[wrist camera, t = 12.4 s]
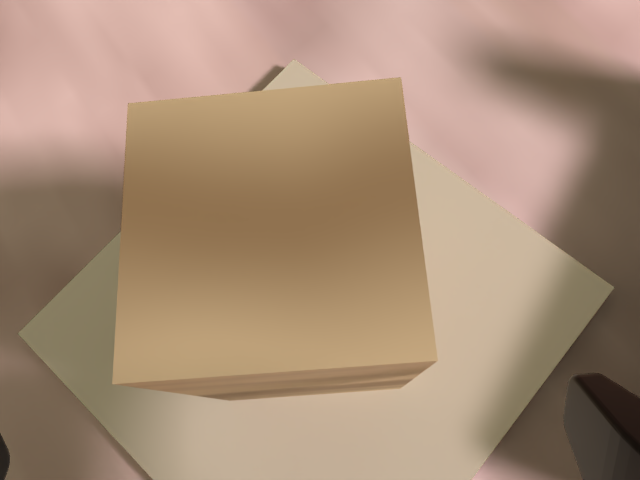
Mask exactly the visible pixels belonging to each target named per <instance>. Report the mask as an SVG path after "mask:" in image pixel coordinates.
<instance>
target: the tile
mask: <svg viewBox="0 0 640 480" xmlns="http://www.w3.org/2000/svg"><path fill="white" fill-rule="evenodd" d="M326 84H328V83H327V82H325V81H324V80H323V79H321V78H320V77H318V76H317V75H316V74H314V73H313V72H311V71H310V70H309V69H307V68H306V67H304V66H303V65H302V64H300V63H299V62H297V61H296V60H295V59H293V60H292V61H291V62H290V63H289V64H288V65H287V66H286V67H285V68H284V69H283V70H282V71H281V72H280V73H279V74H278V75H277V76H276V77H275V78H274V79H273V80H272V81H271V82H270V83H269V84H268V85H267V86H266V87H265V88H264V89H263V90H262V91H264V90H274V89H285V88H295V87H305V86H316V85H326ZM409 143H410V151H411V158H412V166H413V174H414V181H415V189H416V197H417V204H418V212H419V220H420V227H421V235H422V243H423V250H424V258H425V266H426V273H427V281H428V289H429V296H430V304H431V312H432V319H433V327H434V335H435V342H436V350H437V358H438V361H437V362H436V363H434V364H433V365H432V366H430V367H429V368H428V369H426V370H425V371H424V372H422V373H421V374H419V375H418V376H417V377H415V378H414V379H413V380H411V381H410V382H409V383H407V384H406V385H405V386H403V387H402V388H401V389H391V390H376V391H362V392H348V393H333V394H319V395H305V396H290V397H276V398H262V399H247V400H233V401H228V400H221V399H214V398H207V397H200V396H193V395H186V394H179V393H171V392H164V391H157V390H150V389H143V388H136V387H129V386H122V385H115V384H112V380H113V362H114V344H115V326H116V308H117V290H118V272H119V255H120V237H121V231H120V232H119V233H118V234H117V235H116V236H115V237H114V238H113V239H112V240H111V241H110V242H109V243H108V244H107V245H106V246H105V247H104V248H103V249H102V250H101V251H100V252H99V253H98V254H97V255H96V256H95V257H94V258H93V259H92V260H91V261H90V262H89V263H88V264H87V265H86V266H85V267H84V268H83V269H82V270H81V271H80V272H79V273H78V274H77V275H76V276H75V277H74V278H73V279H72V280H71V281H70V282H69V283H68V284H67V285H66V286H65V287H64V288H63V289H62V290H61V291H60V292H59V293H58V294H57V295H56V296H55V297H54V298H53V299H52V300H51V301H50V302H49V303H48V304H47V305H46V306H45V307H44V308H43V309H42V310H41V311H40V312H39V313H38V314H37V315H36V316H35V317H34V318H33V319H32V320H31V321H30V322H29V323H28V324H27V325H26V326H25V327H24V328H23V329H22V330H21V331H20V332H19V333H18V335H19V336H20V337H21V338H22V339H23V340H24V341H25V342H26V343H27V344H28V345H29V346H30V348H31V349H32V350H33V351H34V352H35V353H36V354H37V355H38V356H39V357H40V358H41V359H42V360H43V362H44V363H45V364H46V365H47V366H48V367H49V368H50V369H51V370H52V371H53V372H54V373H55V375H56V376H57V377H58V378H59V379H60V380H61V381H62V382H63V383H64V384H65V385H66V386H67V387H68V389H69V390H70V391H71V392H72V393H73V394H74V395H75V396H76V397H77V398H78V399H79V400H80V402H81V403H82V404H83V405H84V406H85V407H86V408H87V409H88V410H89V411H90V412H91V413H92V414H93V416H94V417H95V418H96V419H97V420H98V421H99V422H100V423H101V424H102V425H103V426H104V427H105V428H106V430H107V431H108V432H109V433H110V434H111V435H112V436H113V437H114V438H115V439H116V440H117V441H118V443H119V444H120V445H121V446H122V447H123V448H124V449H125V450H126V451H127V452H128V453H129V454H130V455H131V457H132V458H133V459H134V460H135V461H136V462H137V463H138V464H139V465H140V466H141V467H142V468H143V470H144V471H145V472H146V473H147V474H148V475H149V476H150V477H151V478H152V479H153V480H472V478H473V477H474V476H475V474H476V473H477V472H478V470H479V469H480V468H481V466H482V465H483V464H484V462H485V461H486V460H487V458H488V457H489V455H490V454H491V453H492V451H493V450H494V449H495V447H496V446H497V445H498V443H499V442H500V441H501V439H502V438H503V437H504V435H505V434H506V433H507V431H508V430H509V429H510V427H511V426H512V425H513V423H514V422H515V421H516V419H517V418H518V417H519V415H520V414H521V413H522V411H523V410H524V408H525V407H526V406H527V404H528V403H529V402H530V400H531V399H532V398H533V396H534V395H535V394H536V392H537V391H538V390H539V388H540V387H541V386H542V384H543V383H544V382H545V380H546V379H547V378H548V376H549V375H550V374H551V372H552V371H553V370H554V368H555V367H556V366H557V364H558V363H559V361H560V360H561V359H562V357H563V356H564V355H565V353H566V352H567V351H568V349H569V348H570V347H571V345H572V344H573V343H574V341H575V340H576V339H577V337H578V336H579V335H580V333H581V332H582V331H583V329H584V328H585V327H586V325H587V324H588V323H589V321H590V320H591V318H592V317H593V316H594V314H595V313H596V312H597V310H598V309H599V308H600V306H601V305H602V304H603V302H604V301H605V300H606V298H607V297H608V296H609V294H610V293H611V292H612V290H613V289H614V288H615V287H613V286H612V285H610V284H609V283H608V282H606V281H605V280H603V279H602V278H601V277H599V276H598V275H596V274H595V273H594V272H592V271H591V270H589V269H588V268H587V267H585V266H584V265H582V264H581V263H579V262H578V261H577V260H575V259H574V258H572V257H571V256H570V255H568V254H567V253H565V252H564V251H563V250H561V249H560V248H558V247H557V246H556V245H554V244H553V243H551V242H550V241H549V240H547V239H546V238H544V237H543V236H542V235H540V234H539V233H537V232H536V231H535V230H533V229H532V228H530V227H529V226H528V225H526V224H525V223H523V222H522V221H521V220H519V219H518V218H516V217H515V216H514V215H512V214H511V213H509V212H508V211H507V210H505V209H504V208H502V207H501V206H499V205H498V204H497V203H495V202H494V201H492V200H491V199H490V198H488V197H487V196H485V195H484V194H483V193H481V192H480V191H478V190H477V189H476V188H474V187H473V186H471V185H470V184H469V183H467V182H466V181H464V180H463V179H462V178H460V177H459V176H457V175H456V174H455V173H453V172H452V171H450V170H449V169H448V168H446V167H445V166H443V165H442V164H441V163H439V162H438V161H436V160H435V159H434V158H432V157H431V156H429V155H428V154H427V153H425V152H424V151H422V150H421V149H419V148H418V147H417V146H415V145H414V144H412V143H411V142H410V141H409Z"/></svg>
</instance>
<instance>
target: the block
mask: <svg viewBox="0 0 640 480" xmlns="http://www.w3.org/2000/svg"><path fill="white" fill-rule="evenodd" d="M437 361H438V358H437V350H436V342H435V335H434V327H433V319H432V312H431V304H430V296H429V289H428V281H427V273H426V266H425V258H424V250H423V243H422V235H421V227H420V220H419V212H418V204H417V197H416V189H415V181H414V174H413V166H412V158H411V151H410V143H409V135H408V128H407V120H406V112H405V105H404V97H403V89H402V82H401V77H399V78H389V79H379V80H368V81H358V82H347V83H337V84H326V85H316V86H305V87H295V88H285V89H274V90H264V91H253V92H243V93H232V94H222V95H211V96H201V97H191V98H180V99H170V100H159V101H149V102H138V103H128V111H127V129H126V147H125V165H124V183H123V201H122V219H121V237H120V255H119V272H118V290H117V308H116V326H115V344H114V362H113V380H112V384H115V385H122V386H129V387H136V388H143V389H150V390H157V391H164V392H171V393H179V394H186V395H193V396H200V397H207V398H214V399H221V400H228V401H233V400H247V399H262V398H276V397H290V396H305V395H319V394H333V393H348V392H362V391H376V390H391V389H401V388H402V387H403V386H405V385H406V384H407V383H409V382H410V381H411V380H413V379H414V378H415V377H417V376H418V375H419V374H421V373H422V372H424V371H425V370H426V369H428V368H429V367H430V366H432V365H433V364H434V363H436V362H437Z"/></svg>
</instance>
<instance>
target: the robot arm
mask: <svg viewBox="0 0 640 480" xmlns="http://www.w3.org/2000/svg"><path fill="white" fill-rule="evenodd" d="M564 426H565V430H566V433H567V436H568V439H569V442H570V445H571V447H572V450H573V453H574V456H575V459H576V461H577V464H578V467H579V470H580V473H581V476H582V478H583V480H640V398H639V397H637V396H636V395H634V394H632V393H631V392H629V391H628V390H626V389H624V388H623V387H621V386H620V385H618V384H616V383H615V382H613V381H612V380H610V379H609V378H607V377H605V376H604V375H602V374H599V373H588V374H575V375H573V376H571V377H570V379H569V381H568V387H567V394H566V401H565V409H564ZM9 463H10V455H9V451H8V448H7V446H6V444H5V442H4V440H3V438H2V436H1V434H0V480H4V479H5V477H6V474H7V471H8V468H9Z"/></svg>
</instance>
